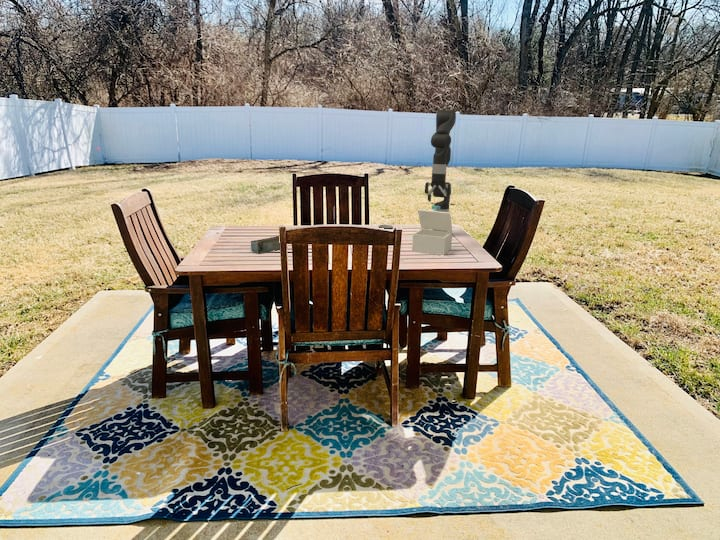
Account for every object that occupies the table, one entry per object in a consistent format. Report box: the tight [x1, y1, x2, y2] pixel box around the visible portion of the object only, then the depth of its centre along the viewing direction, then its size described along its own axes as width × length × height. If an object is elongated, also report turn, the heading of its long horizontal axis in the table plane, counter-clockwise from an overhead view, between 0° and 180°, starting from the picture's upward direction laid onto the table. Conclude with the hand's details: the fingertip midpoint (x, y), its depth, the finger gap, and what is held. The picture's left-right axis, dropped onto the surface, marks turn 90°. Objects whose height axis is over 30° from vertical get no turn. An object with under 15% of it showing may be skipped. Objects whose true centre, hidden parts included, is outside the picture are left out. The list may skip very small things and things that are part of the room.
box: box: [411, 228, 453, 256], centre depth 279 cm, size 15×18×10 cm
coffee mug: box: [377, 224, 394, 230], centre depth 292 cm, size 12×9×10 cm
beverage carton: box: [250, 235, 280, 255], centre depth 276 cm, size 8×19×7 cm, turn 131°
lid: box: [417, 205, 453, 233], centre depth 280 cm, size 15×18×6 cm
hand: (437, 202), depth 277 cm, fingers open, 8 cm apart
